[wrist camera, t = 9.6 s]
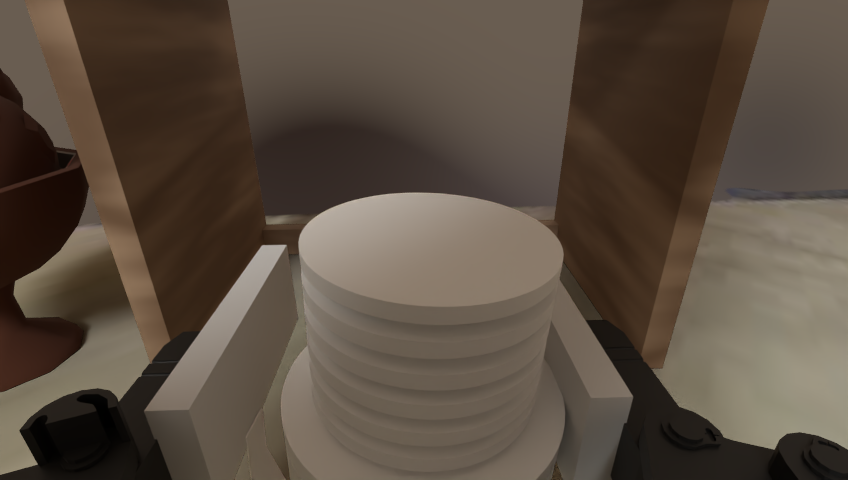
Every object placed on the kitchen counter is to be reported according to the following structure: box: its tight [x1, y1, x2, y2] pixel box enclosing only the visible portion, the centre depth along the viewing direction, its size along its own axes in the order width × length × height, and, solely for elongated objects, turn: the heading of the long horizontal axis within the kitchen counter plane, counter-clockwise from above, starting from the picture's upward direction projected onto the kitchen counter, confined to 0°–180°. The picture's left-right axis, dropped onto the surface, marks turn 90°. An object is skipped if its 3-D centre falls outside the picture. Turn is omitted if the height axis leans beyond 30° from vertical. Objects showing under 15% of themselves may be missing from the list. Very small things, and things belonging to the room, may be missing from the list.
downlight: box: [246, 193, 565, 480], centre depth 10 cm, size 8×7×10 cm
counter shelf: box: [25, 0, 769, 368], centre depth 22 cm, size 24×14×22 cm, turn 92°
